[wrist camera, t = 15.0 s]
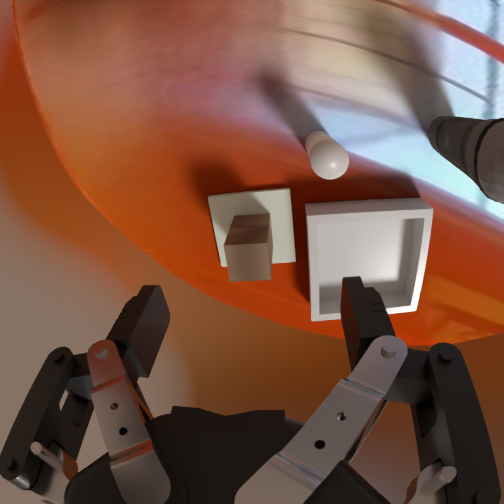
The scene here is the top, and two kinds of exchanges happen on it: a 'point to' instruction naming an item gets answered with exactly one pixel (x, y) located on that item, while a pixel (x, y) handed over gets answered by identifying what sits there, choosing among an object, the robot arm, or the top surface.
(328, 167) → the salt shaker
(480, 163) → the beverage cup
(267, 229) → the walnut block
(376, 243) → the grey tub
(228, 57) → the top surface
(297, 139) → the top surface
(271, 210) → the sage coaster
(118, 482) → the robot arm
